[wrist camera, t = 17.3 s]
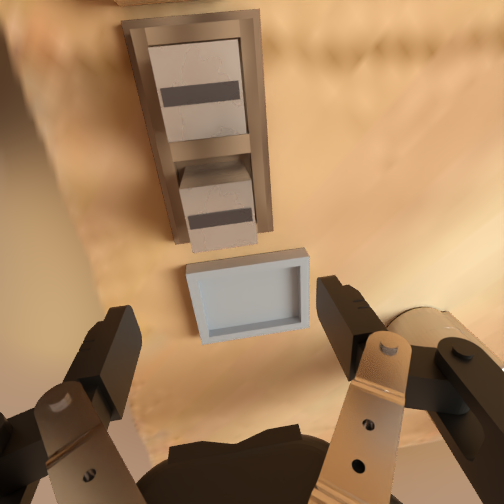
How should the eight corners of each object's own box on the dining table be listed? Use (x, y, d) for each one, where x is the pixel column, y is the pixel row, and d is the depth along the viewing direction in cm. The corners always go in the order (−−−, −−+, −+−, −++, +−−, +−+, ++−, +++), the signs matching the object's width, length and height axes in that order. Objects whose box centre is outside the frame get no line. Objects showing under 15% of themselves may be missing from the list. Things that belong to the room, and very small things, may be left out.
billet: (241, 159, 27) (251, 180, 21) (247, 211, 29) (257, 244, 23) (185, 166, 27) (178, 190, 20) (196, 218, 29) (192, 254, 23)
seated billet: (230, 52, 23) (238, 38, 17) (237, 123, 25) (246, 133, 19) (164, 59, 23) (147, 47, 16) (178, 129, 25) (168, 142, 19)
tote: (304, 247, 33) (309, 256, 31) (304, 316, 38) (309, 327, 36) (186, 264, 32) (185, 274, 31) (202, 332, 37) (202, 344, 35)
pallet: (257, 11, 23) (262, 3, 21) (271, 227, 31) (276, 237, 29) (124, 23, 22) (114, 16, 20) (176, 240, 31) (173, 251, 29)
